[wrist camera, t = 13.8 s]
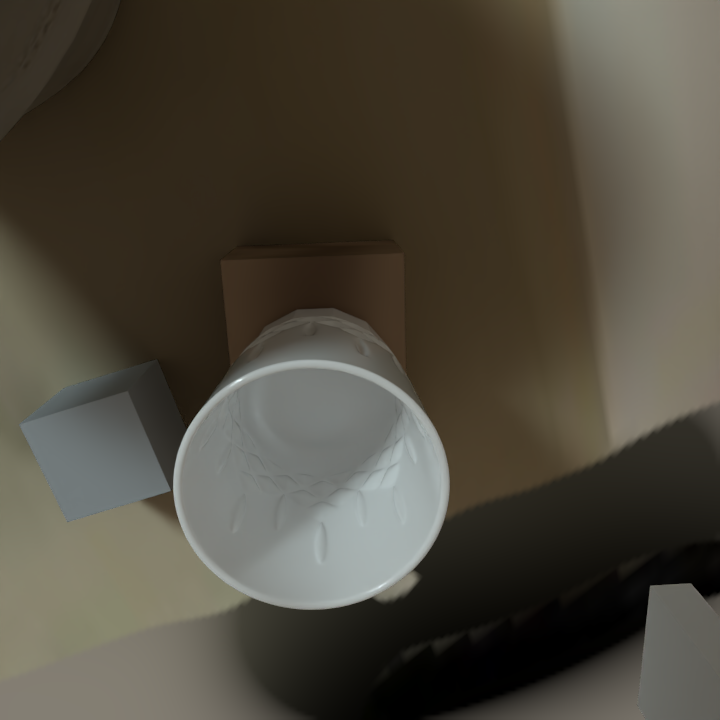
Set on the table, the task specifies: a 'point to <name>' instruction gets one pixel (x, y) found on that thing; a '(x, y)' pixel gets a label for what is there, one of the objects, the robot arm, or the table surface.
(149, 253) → the table surface
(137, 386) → the grey cube
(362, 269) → the walnut block
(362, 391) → the white cup
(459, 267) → the table surface
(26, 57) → the plant pot
